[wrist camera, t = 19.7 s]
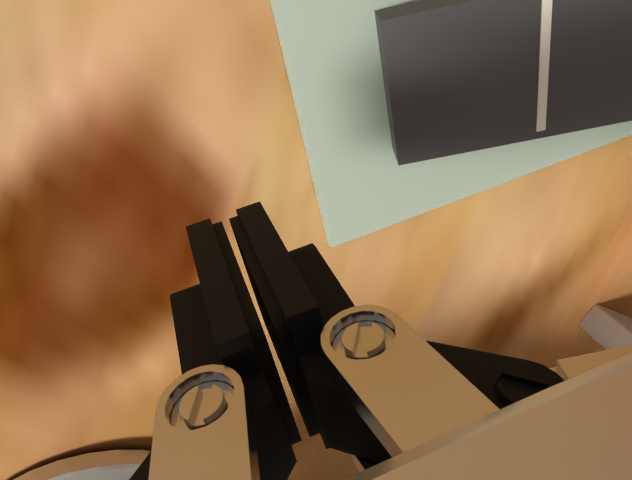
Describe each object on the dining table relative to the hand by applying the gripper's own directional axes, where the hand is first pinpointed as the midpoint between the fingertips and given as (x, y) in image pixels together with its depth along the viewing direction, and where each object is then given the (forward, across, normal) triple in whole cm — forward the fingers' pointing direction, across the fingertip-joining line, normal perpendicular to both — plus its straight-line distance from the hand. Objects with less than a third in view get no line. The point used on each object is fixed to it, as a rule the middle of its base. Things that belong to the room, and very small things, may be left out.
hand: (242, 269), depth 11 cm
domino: (+6, -7, 0) cm, 9 cm away
